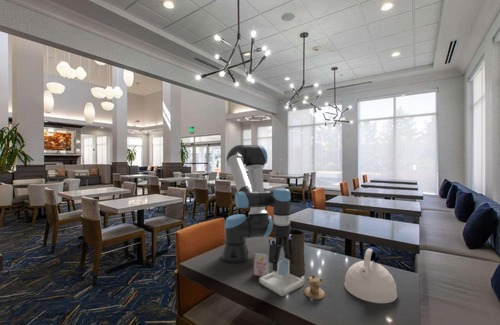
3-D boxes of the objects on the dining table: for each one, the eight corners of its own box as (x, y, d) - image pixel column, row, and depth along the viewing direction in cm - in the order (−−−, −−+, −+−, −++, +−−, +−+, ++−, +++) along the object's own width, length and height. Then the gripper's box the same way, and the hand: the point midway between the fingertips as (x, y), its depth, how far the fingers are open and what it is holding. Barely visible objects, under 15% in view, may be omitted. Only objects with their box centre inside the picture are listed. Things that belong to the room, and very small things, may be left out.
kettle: (337, 291, 103) (337, 249, 102) (352, 273, 119) (353, 236, 118) (391, 311, 90) (392, 262, 89) (401, 288, 106) (402, 246, 105)
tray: (259, 282, 110) (259, 277, 110) (280, 273, 118) (280, 268, 118) (282, 296, 99) (282, 291, 99) (303, 285, 108) (303, 280, 108)
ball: (272, 274, 109) (272, 260, 109) (281, 270, 112) (281, 257, 112) (282, 279, 104) (282, 265, 104) (291, 275, 108) (291, 261, 108)
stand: (305, 298, 97) (306, 282, 97) (303, 287, 105) (303, 272, 105) (326, 299, 97) (326, 283, 96) (322, 288, 105) (322, 273, 104)
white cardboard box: (256, 271, 120) (256, 251, 120) (269, 274, 117) (269, 253, 117) (253, 274, 117) (253, 254, 117) (266, 277, 114) (266, 256, 114)
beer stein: (305, 277, 114) (306, 234, 115) (282, 275, 116) (283, 233, 117) (304, 265, 129) (305, 227, 130) (284, 263, 131) (285, 226, 132)
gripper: (272, 229, 99) (272, 286, 99) (302, 221, 111) (301, 272, 111) (260, 225, 105) (260, 279, 105) (289, 218, 117) (289, 266, 117)
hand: (281, 275), depth 108 cm, fingers closed on ball, 6 cm apart
